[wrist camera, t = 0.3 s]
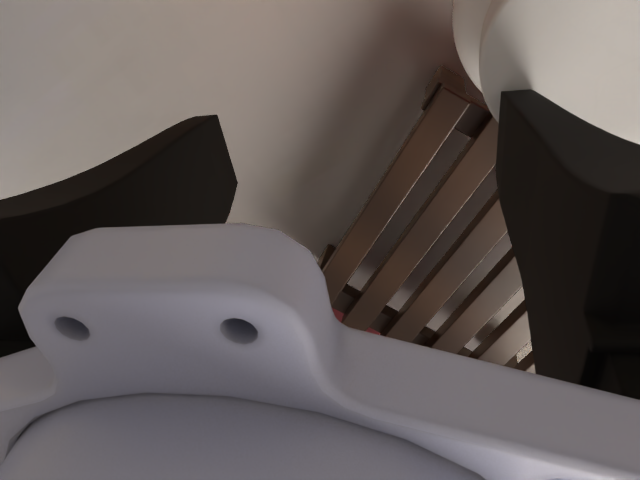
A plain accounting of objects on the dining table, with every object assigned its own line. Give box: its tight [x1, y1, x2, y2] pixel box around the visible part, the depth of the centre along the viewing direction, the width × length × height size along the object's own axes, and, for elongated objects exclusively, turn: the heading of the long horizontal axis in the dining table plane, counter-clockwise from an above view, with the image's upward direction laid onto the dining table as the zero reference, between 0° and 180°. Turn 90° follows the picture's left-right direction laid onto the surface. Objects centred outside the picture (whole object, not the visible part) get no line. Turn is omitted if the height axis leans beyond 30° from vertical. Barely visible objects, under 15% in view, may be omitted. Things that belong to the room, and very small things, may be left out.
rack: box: [317, 66, 535, 374], centre depth 23 cm, size 12×12×4 cm
